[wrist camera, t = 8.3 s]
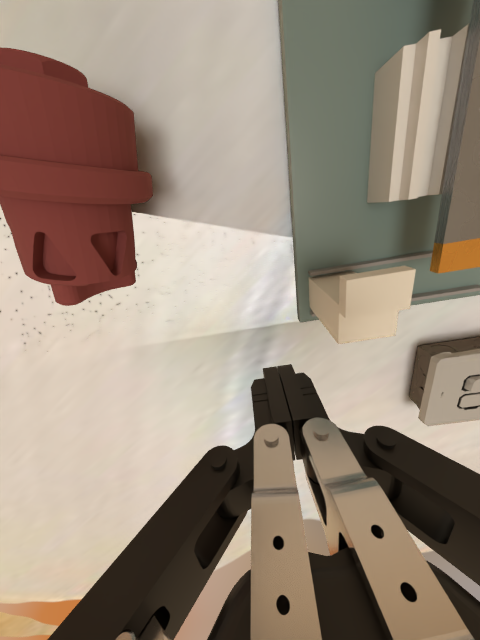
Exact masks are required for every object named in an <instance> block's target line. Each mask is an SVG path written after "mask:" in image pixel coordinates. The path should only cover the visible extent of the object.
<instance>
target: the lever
mask: <svg viewBox="0 0 480 640" xmlns="http://www.w3.org/2000/svg"><path fill="white" fill-rule="evenodd" d="M476 267H480V0H473V6H472V12H471V18H470V24H469V31H468V37H467V43H466V49H465V55H464V61H463V68H462V74H461V80H460V86H459V92H458V98H457V105H456V111H455V117H454V123H453V129H452V135H451V142H450V148H449V154H448V160H447V166H446V172H445V179H444V185H443V191H442V197H441V203H440V209H439V216H438V222H437V228H436V234H435V240H434V246H433V253H432V259H431V265H430V271H431V272H434V273H445V272H451V271H457V270H464V269H470V268H476Z"/></svg>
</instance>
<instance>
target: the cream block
mask: <svg viewBox="0 0 480 640" xmlns="http://www.w3.org/2000/svg"><path fill="white" fill-rule="evenodd" d="M415 272H416V269H413V268H410V267H407V266H399V267H393V268H387V269H380V270H374V271H368V272H362V273H356V272H354V271H346V272H340V273H334V274H328V275H322V276H316V277H309V302H310V308H311V310H312V311H313V312H314V313H315V315H316V316H317V317H318V319H319V320H320V321H321V322H322V324H323V325H324V326H325V328H326V329H327V330H328V331H329V333H330V334H331V335H332V337H333V338H334V339H335V340H336V342H337V343H338V344H342V343H349V342H356V341H362V340H369V339H376V338H382V337H389V336H395V333H396V326H397V319H398V311H399V310H404V309H410V304H411V298H412V291H413V285H414V278H415Z"/></svg>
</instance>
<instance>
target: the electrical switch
mask: <svg viewBox="0 0 480 640" xmlns="http://www.w3.org/2000/svg"><path fill="white" fill-rule="evenodd" d="M474 346H475V347H474ZM421 347H422V348H423V349H422V348H421ZM422 370H423V371H422ZM420 387H423V389H424V390H422V389H421V388H420ZM409 397H410V398H411V399H412V400H413V401H414V402H415V403H416V405H417V406H418V408H419V409H420V412H419V417H418V418H419V419H420V420H421V421H422V422H423V423H424V424H425V425H427V426H433V425H441V424H449V423H458V422H466V421H474V420H480V337H475V338H469V339H462V340H455V341H448V342H441V343H434V344H427V345H420V346H418V349H417V355H416V361H415V367H414V373H413V378H412V384H411V390H410V396H409Z"/></svg>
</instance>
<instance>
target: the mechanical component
mask: <svg viewBox="0 0 480 640" xmlns="http://www.w3.org/2000/svg"><path fill="white" fill-rule="evenodd" d="M152 196H153V188H152V176H151V175H150V173H148V172H143V171H138V162H137V150H136V137H135V125H134V113H133V111H132V110H131V109H130V108H128V107H127V106H126V105H125V104H123V103H122V102H120V101H118V100H117V99H114V98H112V97H110V96H108V95H106V94H103V93H101V92H98V91H96V90H93V89H90V88H88V84H87V79H86V77H85V76H84V75H83V74H82V73H81V72H80V71H78V70H77V69H75V68H73V67H71V66H69V65H66V64H64V63H62V62H59V61H57V60H54V59H51V58H48V57H45V56H42V55H38V54H35V53H31V52H27V51H22V50H17V49H11V48H0V204H1V207H2V210H3V213H4V216H5V219H6V221H7V223H8V225H9V227H10V229H11V232H12V236H13V239H14V243H15V246H16V249H17V253H18V256H19V258H20V261H21V264H22V267H23V270H24V272H25V274H26V275H27V276H28V277H30V278H31V279H34V280H36V281H39V282H42V283H46V284H51V287H52V291H53V294H54V297H55V301H56V302H57V303H59V304H61V305H67V306H69V305H76V304H79V303H81V302H82V301H84V300H86V299H87V298H89V297H92V296H94V295H96V294H99V293H101V292H104V291H108V290H111V289H116V288H120V287H126V286H131V285H133V284H134V283H135V282H136V279H135V270H136V268H137V262H136V260H135V242H134V231H133V221H132V211H131V204H136V203H143V202H147V201H148V200H149V199H150V198H151V197H152Z"/></svg>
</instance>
